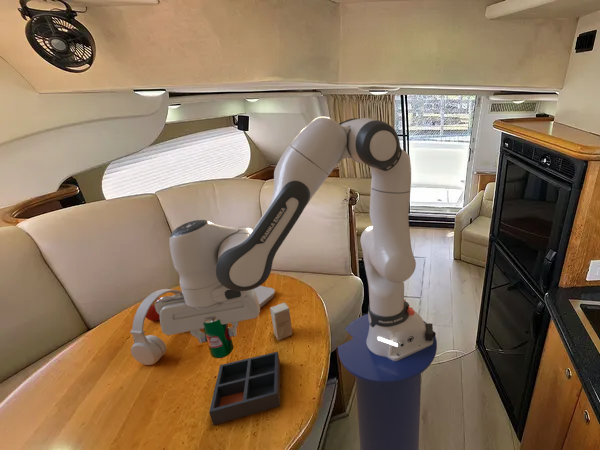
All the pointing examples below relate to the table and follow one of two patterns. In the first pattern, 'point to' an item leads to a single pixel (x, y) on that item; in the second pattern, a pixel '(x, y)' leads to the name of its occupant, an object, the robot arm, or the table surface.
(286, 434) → the table surface
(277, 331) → the box
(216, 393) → the grid
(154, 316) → the apple
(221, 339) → the soda can
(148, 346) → the headphones
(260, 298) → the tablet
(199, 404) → the table surface
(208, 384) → the table surface
